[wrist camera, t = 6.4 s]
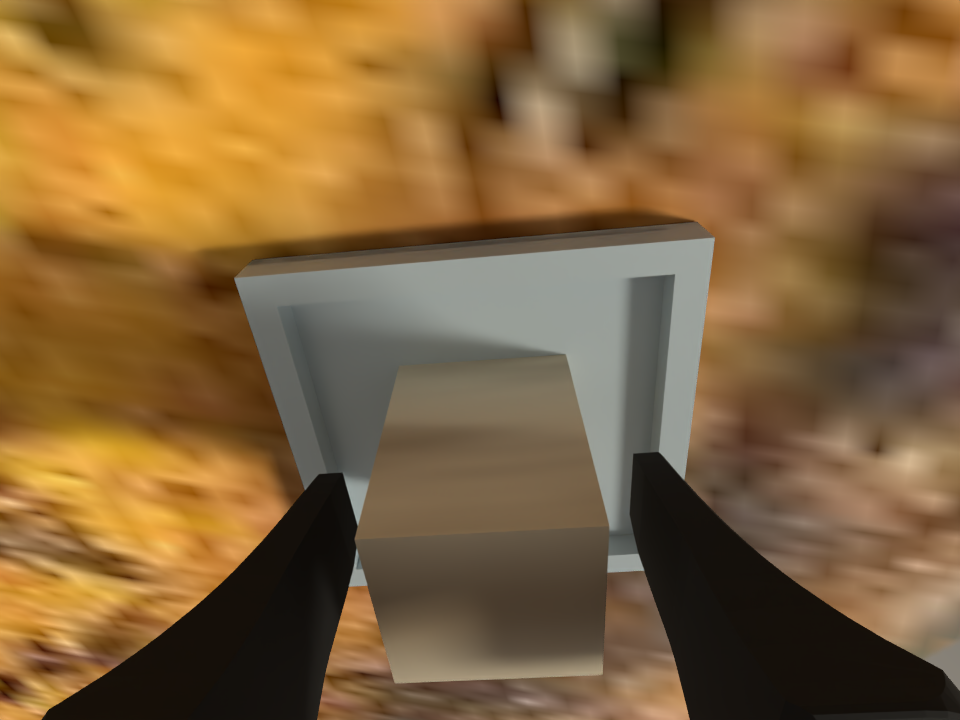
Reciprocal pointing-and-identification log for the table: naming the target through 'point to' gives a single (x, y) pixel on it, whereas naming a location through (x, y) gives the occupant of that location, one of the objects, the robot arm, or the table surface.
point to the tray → (489, 341)
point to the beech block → (486, 525)
